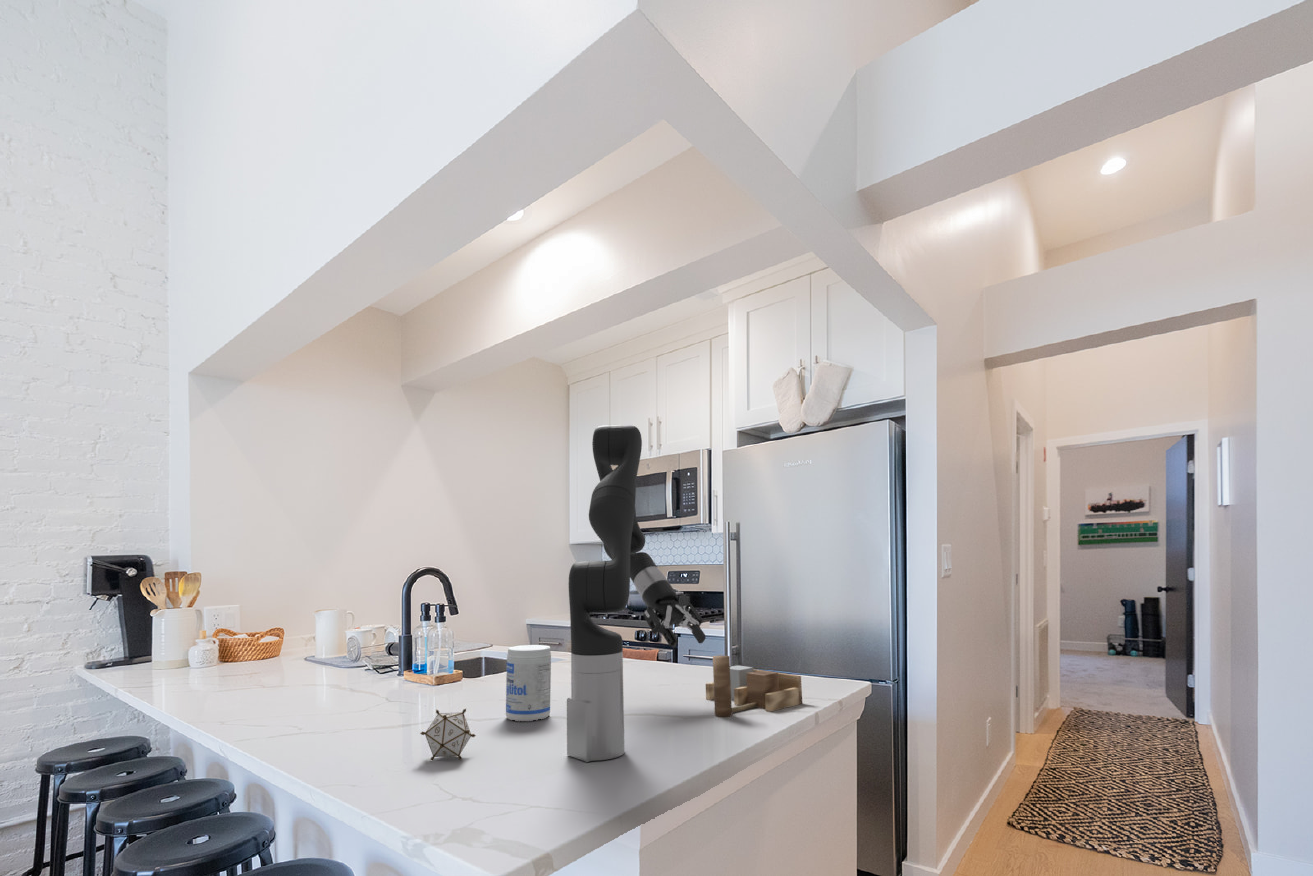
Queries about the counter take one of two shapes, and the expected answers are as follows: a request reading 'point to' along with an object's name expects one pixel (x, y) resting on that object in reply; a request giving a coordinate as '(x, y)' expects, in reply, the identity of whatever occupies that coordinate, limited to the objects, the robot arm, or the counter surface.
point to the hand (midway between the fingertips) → (689, 642)
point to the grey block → (738, 677)
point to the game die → (448, 734)
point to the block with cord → (756, 687)
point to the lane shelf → (773, 701)
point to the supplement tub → (528, 682)
